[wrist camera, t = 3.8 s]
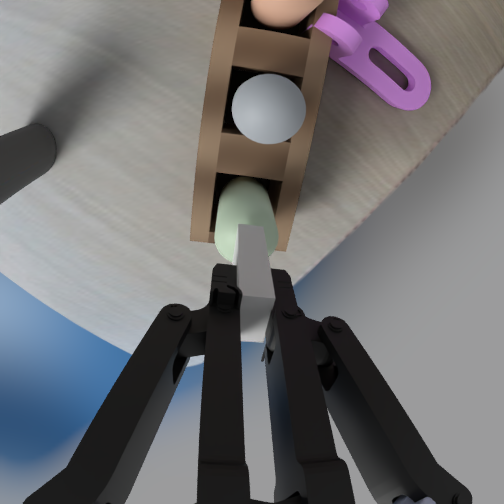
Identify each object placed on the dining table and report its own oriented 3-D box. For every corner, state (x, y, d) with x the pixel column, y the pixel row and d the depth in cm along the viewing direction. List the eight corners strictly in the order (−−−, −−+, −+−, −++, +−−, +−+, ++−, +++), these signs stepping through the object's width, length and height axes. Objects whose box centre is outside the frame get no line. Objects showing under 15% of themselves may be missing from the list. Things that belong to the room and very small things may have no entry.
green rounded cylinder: (222, 173, 23) (217, 204, 18) (272, 180, 24) (284, 213, 18) (217, 218, 25) (211, 261, 20) (264, 224, 26) (271, 268, 20)
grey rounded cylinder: (237, 73, 19) (237, 68, 14) (291, 82, 20) (311, 82, 14) (229, 124, 21) (226, 138, 16) (282, 131, 22) (298, 149, 16)
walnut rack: (232, -20, 18) (231, -44, 13) (321, -3, 19) (342, -22, 14) (197, 210, 30) (189, 240, 25) (277, 220, 31) (285, 251, 26)
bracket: (298, 36, 21) (315, 21, 15) (329, -5, 19) (354, -27, 13) (405, 119, 25) (444, 133, 19) (432, 81, 23) (474, 87, 17)
